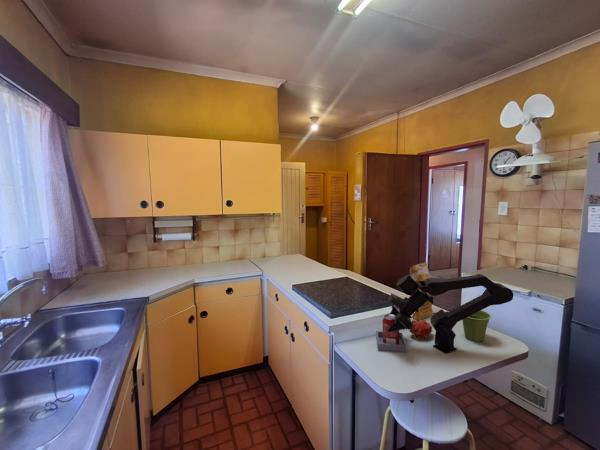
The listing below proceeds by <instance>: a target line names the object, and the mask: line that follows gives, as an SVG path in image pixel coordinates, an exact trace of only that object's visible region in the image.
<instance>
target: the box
mask: <svg viewBox="0 0 600 450" xmlns="http://www.w3.org/2000/svg"><path fill="white" fill-rule="evenodd" d="M375 334H376V335H375V337H376V346H377V351H378V352H390V353H391V352H392V353H404V354H406V353H407V344H406V341H405V338H404V335H403V333H402V332H399V344H384V343H383V331H379V330H378V331H376V332H375Z"/></svg>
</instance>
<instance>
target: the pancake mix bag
mask: <svg viewBox="0 0 600 450" xmlns="http://www.w3.org/2000/svg"><path fill="white" fill-rule="evenodd" d="M408 271H409V275H410V276H411V277H412V278H413V279H414V280H415V281H425V280H426V279H428V278H431V276H430V272H429V267H428V262H427V261H423V262H421V263H417V264H415V265H411V266H410V268H409V270H408ZM418 289H419V288H418ZM419 290H420V289H419ZM420 291H422V290H420ZM426 293H427V292H426ZM427 294H428V295H429V296H432V295H430V294H429V293H427ZM418 310H419V312H415V313H413V314H412V319H413V321H414V320H415V321H417V320H420V321H422V320H425V319H426V318H429V317H430V316H433V315H434V314H433V313H434V312H433V304H431V303H430V302H429V301H427V302H426V303H425V304H424V305H423V306H421V307H420V308H419V309H418Z"/></svg>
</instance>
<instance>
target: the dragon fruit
mask: <svg viewBox="0 0 600 450" xmlns="http://www.w3.org/2000/svg"><path fill="white" fill-rule="evenodd" d="M411 321H412V323H413V327H412V328H411V329H410V330H409V329H408V331H409V333H410V334H411V335H412V337H416V338H420V339H423V340H424V339H426V338H429V336H430V335H431V334H432V332H433V326H432V324H431V322H427V321H426V320H425V319H421V320H414V319H413V320H411Z"/></svg>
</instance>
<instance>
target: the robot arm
mask: <svg viewBox="0 0 600 450" xmlns="http://www.w3.org/2000/svg"><path fill="white" fill-rule="evenodd" d="M395 284H396V286H397V287H398V288H399V289H400V290H401V291H402V292H403V293H404V294H405V295H407V296H406V297H403V298H402V297H400V296H399V295H396V294H394V293H391V294H390V295H389V298H388V299H387V300H388V303H389V304H390V305H391V310H390V313H389V314H392V315H396V316H395V322H394V323H393V324H392V325H391V326H390V327H389V329H388V331H389V332H392V331H397V330H399V331H401V330H408V331H409V330H410V329H411V328H412V327H413V323H412V321H413V320H411V319H413V313H414V312H419V310H418V309H419V308H420V307H421V306H423V305H424V304H425V303H426V302H427V301H429V302H430V303H431V304H432V305H433V304H434V297H435V296H436V297H437V296H440V295H443V294H445V293H447V292H450V291H455V290H461V289H468V288H476V287H483V288H484V289H485V290H484V291H483V292H482V294H480V295H478V296H477V297H475V298H473V299H471V300H469V301H467V302H465V303H464V304H461V305H459V306H457V307H455V308H454V309H452V310H448V311H444V309H442V308H441V309H439V310H438V311H437V312H433V315H431V317H430V319H429V320H430V322H429V323H430V325H431V326H432V329H434V330H435V333H434V344H433V345H432V347H433V348H435V349H436V350H437V351H440V352H441V353H444V354H446V355H447V354H450V353H452V352H455V351H457V348H456V347H455V338H456V336H457V334H456V333H455V331H454V330H453V329H454V327H455V326H456V325H457V323H458V322H461V321H462V320H463V319H465V318H467V317H469V316H471V315H473V314H475V313H477V312H479V311H481V310H482V311H484V309H487V308H488V307H490V306H499V305H504V304H507V303H509V302H512V301H513V300H514V292H513V290H511V288H509V287H507V286H505V285H503V284H502V283H500V282H495V281H493V280H491V279H489V278H488V277H487V276H485V275H484V274H482V273H477V274H475V275H474V274H472V275H465V276H459V277H453V278H438V277H436V278H435V277H430V278H428V279H426V280H425V281H415V280H414V279H413V278H412V277H411V276H410V273H409V274H408V273H407V274H406V275H405V276H402V277H400V279H398V281H397V282H396V283H395ZM418 288H419V289H420V290H422V291H420V290H419V289H418ZM426 292H427V293H429V294H430V295H431V296H429V295H428V294H427V293H426ZM408 296H409V297H408Z"/></svg>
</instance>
